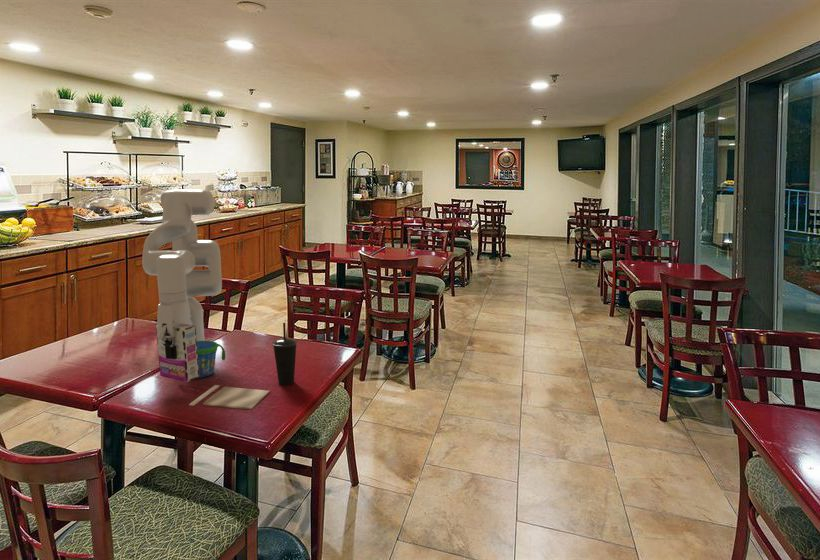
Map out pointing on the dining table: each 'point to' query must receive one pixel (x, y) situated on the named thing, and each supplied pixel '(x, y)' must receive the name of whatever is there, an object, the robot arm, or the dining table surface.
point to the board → (236, 398)
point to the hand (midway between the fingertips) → (178, 354)
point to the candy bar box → (180, 355)
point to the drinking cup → (285, 359)
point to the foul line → (204, 395)
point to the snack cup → (207, 357)
